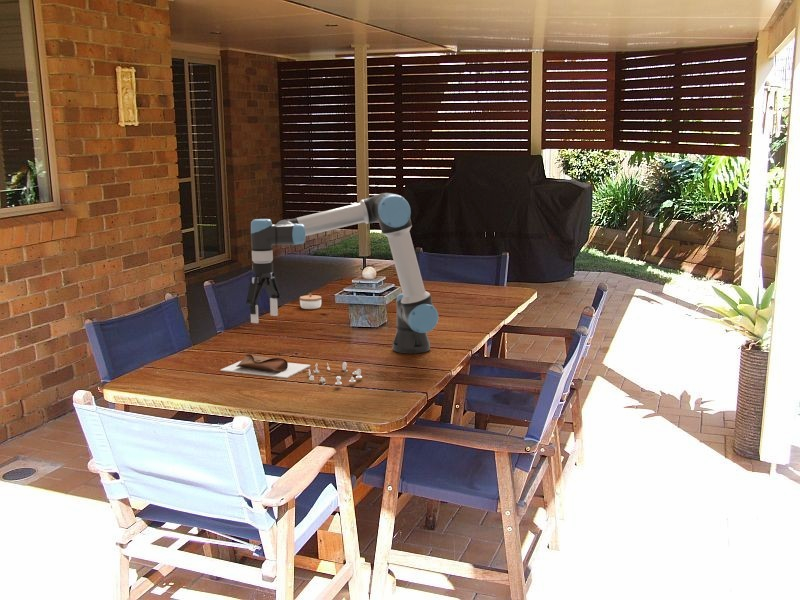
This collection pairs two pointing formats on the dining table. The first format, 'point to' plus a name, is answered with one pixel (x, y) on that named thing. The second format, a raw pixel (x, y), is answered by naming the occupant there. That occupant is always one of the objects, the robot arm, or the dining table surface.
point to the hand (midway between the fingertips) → (264, 319)
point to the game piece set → (337, 376)
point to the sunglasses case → (263, 363)
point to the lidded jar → (310, 301)
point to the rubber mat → (290, 371)
